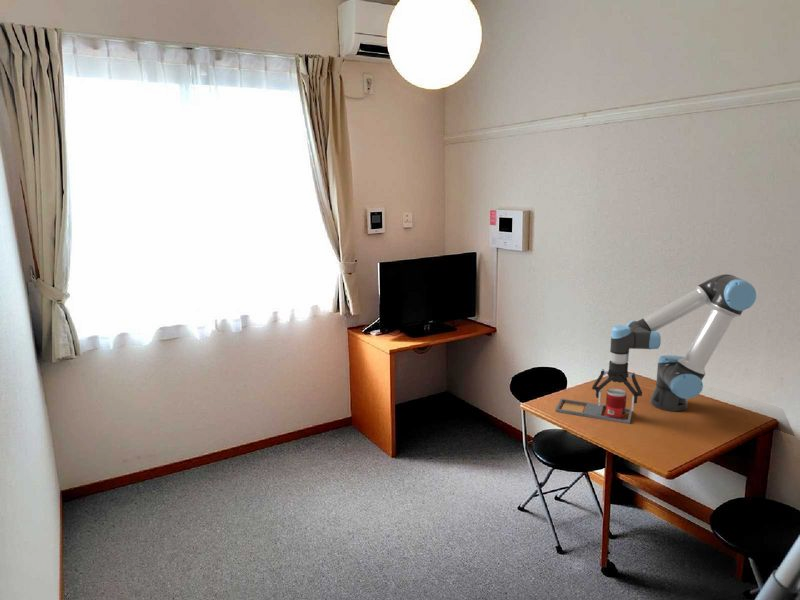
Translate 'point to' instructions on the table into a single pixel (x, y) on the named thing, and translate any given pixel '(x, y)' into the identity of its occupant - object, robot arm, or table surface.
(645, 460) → the table surface
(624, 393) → the canned food
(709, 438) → the table surface
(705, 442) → the table surface
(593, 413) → the rail frame
